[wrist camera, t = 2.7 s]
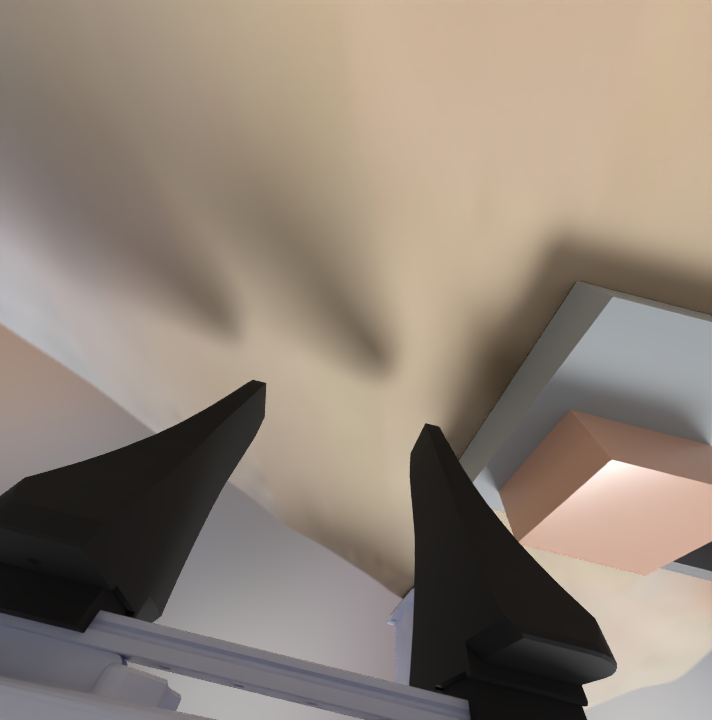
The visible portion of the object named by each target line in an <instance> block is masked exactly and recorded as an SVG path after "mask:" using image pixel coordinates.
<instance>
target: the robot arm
mask: <svg viewBox="0 0 712 720" xmlns="http://www.w3.org/2000/svg"><path fill="white" fill-rule="evenodd" d="M265 398H266V383H264V382H260V381H256V380H251V381H250V382H248V383H247V384H245V385H243V386H242V387H240V388H239V389H237V390H236V391H234V392H233V393H231V394H229V395H228V396H226V397H225V398H223V399H221V400H220V401H218V402H217V403H215V404H213V405H212V406H210V407H208V408H207V409H205V410H203V411H201V412H199V413H198V414H196V415H194V416H192V417H190V418H189V419H187V420H185V421H183V422H181V423H179V424H177V425H175V426H173V427H171V428H169V429H166V430H164V431H162V432H160V433H158V434H155V435H153V436H151V437H148V438H145V439H143V440H141V441H138V442H135V443H133V444H131V445H128V446H126V447H123V448H120V449H117V450H115V451H112V452H109V453H106V454H103V455H100V456H97V457H94V458H91V459H88V460H85V461H82V462H78V463H75V464H72V465H68V466H65V467H61V468H58V469H54V470H51V471H48V472H44V473H40V474H37V475H33V476H29V477H25V478H24V479H22V480H21V481H20V482H18V483H17V484H16V485H14V486H13V487H12V488H10V489H9V490H8V491H6V492H5V493H4V494H2V495H1V496H0V720H216V719H211V718H206V717H202V716H197V715H192V714H187V713H182V712H177V711H176V710H177V707H178V705H179V703H180V700H181V696H180V694H179V693H177V692H175V691H173V690H172V689H170V688H169V687H168V682H167V680H166V679H163V678H160V677H157V676H155V675H152V674H149V673H146V672H143V671H140V670H137V669H134V668H132V667H128V665H127V662H131V663H136V664H140V665H144V666H148V667H152V668H156V669H160V670H164V671H168V672H172V673H177V674H181V675H185V676H189V677H193V678H197V679H201V680H205V681H209V682H213V683H217V684H221V685H225V686H230V687H234V688H238V689H242V690H247V691H250V692H255V693H259V694H262V695H266V696H270V697H275V698H279V699H283V700H287V701H291V702H295V703H299V704H303V705H307V706H311V707H315V708H320V709H324V710H328V711H332V712H336V713H340V714H344V715H348V716H352V717H357V718H360V719H364V720H587V719H586V716H585V713H584V710H583V707H582V706H588V701H587V698H586V695H585V693H584V690H583V688H582V685H583V684H586V683H590V682H593V681H597V680H600V679H604V678H606V677H609V676H611V675H612V674H614V673H615V672H616V669H617V663H616V661H615V659H614V656H613V654H612V652H611V650H610V648H609V646H608V644H607V642H606V640H605V638H604V636H603V634H602V631H601V629H600V627H599V625H598V623H597V621H596V619H595V618H594V617H593V616H592V615H591V614H590V613H589V612H588V611H587V610H585V609H584V608H583V607H582V606H581V605H580V604H579V603H578V602H577V601H576V600H575V599H574V598H573V597H572V596H571V595H570V594H568V593H567V592H566V591H565V590H564V589H563V588H562V587H561V586H560V585H559V584H558V583H557V582H556V581H555V580H554V579H553V578H552V577H551V576H550V575H549V574H548V573H547V572H546V571H545V570H544V569H543V568H542V567H541V566H540V565H539V564H538V563H537V562H536V561H535V560H534V558H533V557H532V556H531V555H530V554H529V553H528V552H527V551H526V550H525V549H524V548H523V546H522V545H521V544H520V543H519V542H518V541H517V540H516V538H515V537H514V536H513V535H512V534H511V533H510V532H509V530H508V529H507V528H506V527H505V526H504V524H503V523H502V522H501V521H500V519H499V518H498V517H497V516H496V514H495V513H494V512H493V510H492V509H491V508H490V507H489V505H488V504H487V503H486V501H485V500H484V499H483V497H482V496H481V494H480V493H479V491H478V490H477V488H476V487H475V486H474V484H473V483H472V481H471V480H470V478H469V477H468V475H467V473H466V472H465V470H464V469H463V467H462V465H461V464H460V462H459V461H458V459H457V457H456V455H455V454H454V452H453V450H452V449H451V447H450V445H449V443H448V442H447V440H446V438H445V436H444V434H443V433H442V431H441V429H440V428H439V427H438V426H434V425H430V424H426V423H425V425H424V427H423V429H422V431H421V433H420V435H419V438H418V440H417V442H416V444H415V446H414V448H413V450H412V452H411V456H410V485H411V497H412V508H413V520H414V533H415V579H414V588H412V589H411V591H410V592H409V593H408V594H407V595H406V597H405V598H404V599H403V600H402V601H401V603H400V604H399V605H398V606H397V607H396V608H395V609H394V611H393V612H392V613H391V614H390V615H389V616H388V618H387V623H389V624H391V625H395V630H396V631H395V634H396V636H395V637H396V638H395V639H396V640H395V643H396V644H395V646H396V647H395V653H396V655H395V657H396V658H395V662H396V663H395V666H396V683H395V682H391V681H386V680H382V679H378V678H374V677H370V676H366V675H362V674H358V673H354V672H350V671H346V670H342V669H338V668H334V667H329V666H325V665H321V664H317V663H313V662H309V661H305V660H301V659H296V658H293V657H289V656H285V655H281V654H276V653H272V652H268V651H264V650H260V649H256V648H252V647H248V646H244V645H240V644H236V643H232V642H228V641H224V640H220V639H215V638H212V637H207V636H203V635H199V634H195V633H191V632H187V631H183V630H179V629H175V628H171V627H167V626H163V625H159V624H155V623H152V622H154V621H155V620H156V619H158V618H159V617H160V616H161V615H162V613H163V611H164V608H165V606H166V604H167V601H168V599H169V597H170V595H171V592H172V590H173V588H174V586H175V584H176V581H177V579H178V577H179V575H180V573H181V570H182V568H183V566H184V564H185V562H186V560H187V558H188V556H189V553H190V551H191V549H192V547H193V545H194V543H195V541H196V539H197V537H198V535H199V533H200V531H201V529H202V527H203V525H204V523H205V521H206V519H207V517H208V515H209V513H210V511H211V509H212V507H213V505H214V503H215V501H216V499H217V497H218V495H219V494H220V492H221V490H222V488H223V487H224V485H225V483H226V482H227V480H228V478H229V477H230V475H231V474H232V472H233V471H234V469H235V468H236V466H237V464H238V463H239V461H240V460H241V458H242V457H243V455H244V454H245V452H246V450H247V449H248V447H249V446H250V444H251V442H252V441H253V439H254V438H255V436H256V434H257V432H258V430H259V428H260V426H261V423H262V421H263V419H264V417H265ZM126 661H127V662H126Z"/></svg>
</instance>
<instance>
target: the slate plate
mask: <svg viewBox="0 0 712 720" xmlns="http://www.w3.org/2000/svg"><path fill="white" fill-rule="evenodd" d="M569 410H574V411H578V412H582V413H586V414H590V415H594V416H598V417H602V418H606V419H610V420H614V421H618V422H622V423H626V424H630V425H633V426H637V427H641V428H645V429H649V430H653V431H657V432H661V433H665V434H669V435H673V436H677V437H681V438H685V439H689V440H693V441H697V442H701V443H705V444H708V445H711V446H712V315H709V314H705V313H701V312H697V311H693V310H689V309H685V308H681V307H677V306H674V305H670V304H666V303H662V302H658V301H654V300H650V299H646V298H642V297H638V296H635V295H631V294H627V293H623V292H619V291H615V290H611V289H607V288H603V287H599V286H596V285H592V284H588V283H584V282H580V281H577V282H576V283H575V285H574V286H573V288H572V289H571V291H570V292H569V294H568V295H567V297H566V298H565V300H564V302H563V303H562V305H561V306H560V308H559V309H558V311H557V312H556V314H555V315H554V317H553V318H552V320H551V321H550V323H549V324H548V326H547V327H546V329H545V330H544V332H543V333H542V335H541V336H540V338H539V339H538V341H537V343H536V344H535V346H534V347H533V349H532V350H531V352H530V353H529V355H528V356H527V358H526V359H525V361H524V362H523V364H522V365H521V367H520V368H519V370H518V371H517V373H516V374H515V376H514V377H513V379H512V381H511V382H510V384H509V385H508V387H507V388H506V390H505V391H504V393H503V394H502V396H501V397H500V399H499V400H498V402H497V403H496V405H495V406H494V408H493V409H492V411H491V412H490V414H489V415H488V417H487V418H486V420H485V422H484V423H483V425H482V426H481V428H480V429H479V431H478V432H477V434H476V435H475V437H474V438H473V440H472V441H471V443H470V444H469V446H468V447H467V449H466V450H465V452H464V453H463V455H462V456H461V458H460V459H459V462H460V464H461V465H462V467H463V469H464V470H465V472H466V473H467V475H468V477H469V478H470V480H471V481H472V483H473V484H474V486H475V487H476V488H477V490H478V491H479V493H480V494H481V496H482V497H483V499H484V500H485V501H486V503H487V504H488V505H489V507H490V508H491V509H495V510H499V511H503V512H505V509H504V506H503V504H502V501H501V498H500V495H499V491H500V490H501V488H502V487H503V486H504V485H505V484H506V483H507V481H508V480H509V479H510V478H511V477H512V476H513V475H514V473H515V472H516V471H517V470H518V469H519V468H520V466H521V465H522V464H523V463H524V462H525V461H526V460H527V458H528V457H529V456H530V455H531V454H532V453H533V451H534V450H535V449H536V448H537V447H538V446H539V445H540V443H541V442H542V441H543V440H544V439H545V438H546V436H547V435H548V434H549V433H550V432H551V431H552V430H553V428H554V427H555V426H556V425H557V424H558V423H559V421H560V420H561V419H562V418H563V417H564V416H565V415H566V413H567V412H568V411H569Z"/></svg>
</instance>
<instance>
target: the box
mask: <svg viewBox="0 0 712 720" xmlns="http://www.w3.org/2000/svg"><path fill="white" fill-rule="evenodd" d="M661 568H662V569H666V570H670V571H674V572H678V573H682V574H686V575H690V576H694V577H698V578H702V579H706V580H710V581H712V541H711V542H709V543H707V544H705V545H703V546H702V547H700V548H698V549H696V550H694V551H692V552H690V553H688V554H686V555H684V556H682V557H680V558H678V559H676V560H674V561H673V562H671V563H669V564H667V565H665V566H663V567H661Z"/></svg>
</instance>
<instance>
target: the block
mask: <svg viewBox="0 0 712 720" xmlns="http://www.w3.org/2000/svg"><path fill="white" fill-rule="evenodd" d="M499 495H500V498H501V501H502V504H503V506H504V509H505V512H506V515H507V518H508V520H509V523H510V526H511V529H512V532H513V535H514V537H515V538H516V540H517V541H518V542H519V543H520V544H521V545H524V546H528V547H532V548H536V549H540V550H544V551H548V552H552V553H556V554H560V555H564V556H568V557H572V558H576V559H580V560H584V561H588V562H592V563H596V564H600V565H604V566H608V567H612V568H616V569H620V570H624V571H628V572H632V573H636V574H640V575H644V576H645V575H647V574H649V573H651V572H653V571H655V570H657V569H659V568H661V567H663V566H665V565H667V564H669V563H671V562H673V561H674V560H676V559H678V558H680V557H682V556H684V555H686V554H688V553H690V552H692V551H694V550H696V549H698V548H700V547H702V546H703V545H705V544H707V543H709V542H711V541H712V446H711V445H708V444H705V443H701V442H697V441H693V440H689V439H685V438H681V437H677V436H673V435H669V434H665V433H661V432H657V431H653V430H649V429H645V428H641V427H637V426H633V425H630V424H626V423H622V422H618V421H614V420H610V419H606V418H602V417H598V416H594V415H590V414H586V413H582V412H578V411H574V410H569V411H568V412H567V413H566V415H565V416H564V417H563V418H562V419H561V420H560V421H559V423H558V424H557V425H556V426H555V427H554V428H553V430H552V431H551V432H550V433H549V434H548V435H547V436H546V438H545V439H544V440H543V441H542V442H541V443H540V445H539V446H538V447H537V448H536V449H535V450H534V451H533V453H532V454H531V455H530V456H529V457H528V458H527V460H526V461H525V462H524V463H523V464H522V465H521V466H520V468H519V469H518V470H517V471H516V472H515V473H514V475H513V476H512V477H511V478H510V479H509V480H508V481H507V483H506V484H505V485H504V486H503V487H502V488H501V490H500V491H499Z"/></svg>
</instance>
